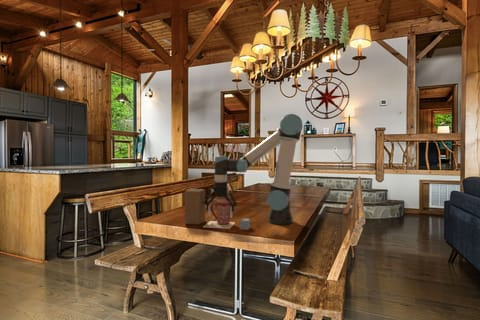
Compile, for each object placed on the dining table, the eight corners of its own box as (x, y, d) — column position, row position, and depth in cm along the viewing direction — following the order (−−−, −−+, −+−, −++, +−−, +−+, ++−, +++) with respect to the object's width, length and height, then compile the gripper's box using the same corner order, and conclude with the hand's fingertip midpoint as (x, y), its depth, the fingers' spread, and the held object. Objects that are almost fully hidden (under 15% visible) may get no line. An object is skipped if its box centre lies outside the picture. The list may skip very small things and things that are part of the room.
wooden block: (200, 225, 164) (199, 191, 163) (184, 224, 166) (183, 190, 165) (205, 220, 173) (205, 189, 173) (190, 220, 175) (190, 188, 175)
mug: (233, 222, 170) (233, 200, 169) (227, 226, 161) (227, 202, 161) (214, 220, 174) (214, 199, 173) (208, 224, 165) (208, 201, 165)
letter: (235, 222, 170) (235, 221, 170) (229, 228, 156) (229, 228, 156) (210, 221, 173) (210, 220, 173) (202, 227, 159) (202, 226, 159)
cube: (249, 227, 159) (249, 218, 159) (248, 229, 154) (248, 221, 154) (241, 227, 160) (241, 218, 160) (239, 229, 155) (239, 220, 155)
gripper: (242, 181, 168) (241, 216, 168) (203, 180, 173) (202, 213, 173) (239, 183, 160) (239, 219, 161) (198, 181, 165) (198, 216, 166)
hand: (220, 216), depth 167 cm, fingers open, 13 cm apart
